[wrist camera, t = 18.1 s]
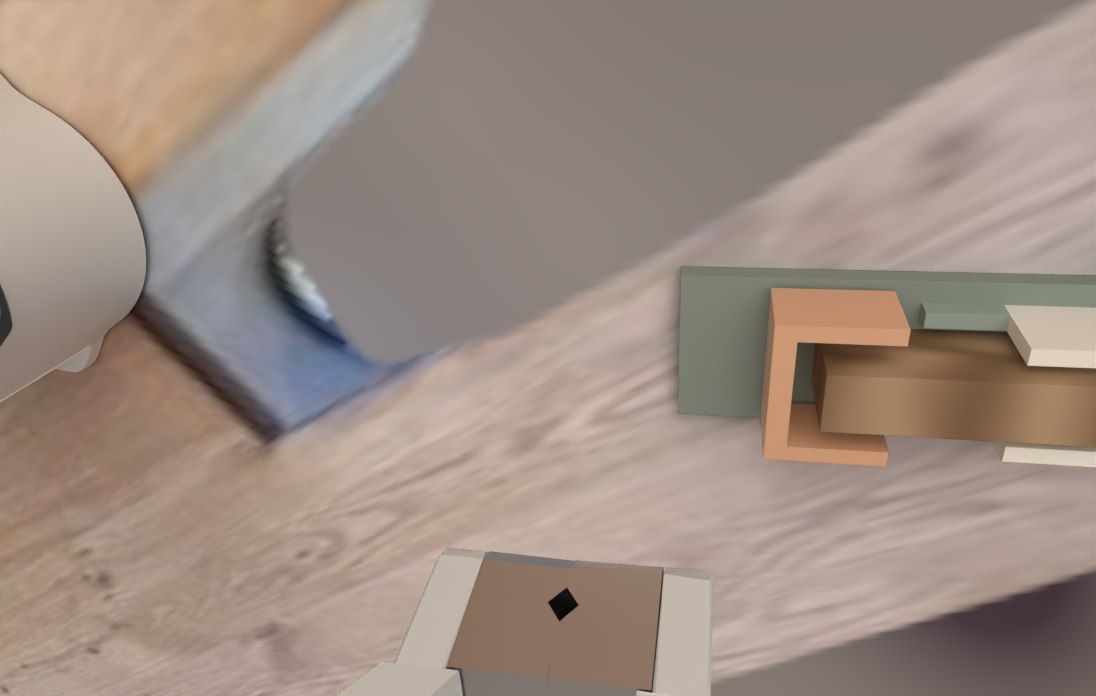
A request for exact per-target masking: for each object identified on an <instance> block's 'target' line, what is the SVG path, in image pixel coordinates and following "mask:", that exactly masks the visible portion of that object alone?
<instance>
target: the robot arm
mask: <svg viewBox="0 0 1096 696" xmlns="http://www.w3.org/2000/svg"><path fill="white" fill-rule="evenodd" d="M145 274H146V249H145V242H144V237H143V233H142V229H141V226H140V222H139V219H138V217H137V214H136V211H135V209H134V207H133V204H132V202H131V200H130V198H129V196H128V194H127V192H126V191H125V189H124V187H123V185H122V184H121V182H120V181H119V179H118V177H117V176H116V174H115V173H114V172H113V170H112V169H111V167H110V166H109V165H108V164H107V162H106V161H105V160H104V158H103V157H102V156H101V155H100V154H99V153H98V152H97V150H96V149H95V148H94V147H93V146H92V145H91V144H90V143H89V142H88V141H87V140H86V139H85V138H84V137H82V136H81V135H80V134H79V133H78V132H77V131H76V130H75V129H73V128H72V127H71V126H70V125H68V124H67V123H66V122H64V121H63V120H62V119H60V118H59V117H57V116H56V115H54V114H53V113H51V112H50V111H48V110H46V109H45V108H43V107H41V106H40V105H38V104H36V103H35V102H33V101H31V100H30V99H28V98H27V97H25V96H24V95H22V94H21V93H19V92H18V91H17V90H15V89H14V88H13V87H12V86H11V85H10V84H9V83H8V81H7V80H6V79H5V78H4V77H3V76H2V75H1V74H0V403H1V402H2V401H4V400H6V399H7V398H9V397H10V396H12V395H14V394H15V393H17V392H19V391H20V390H22V389H24V388H25V387H27V386H28V385H30V384H32V383H33V382H35V381H36V380H38V379H40V378H41V377H43V376H44V375H46V374H48V373H49V372H51V371H52V370H54V369H58V370H62V371H67V372H80V371H82V370H83V369H85V368H87V367H88V366H90V365H92V364H93V363H94V362H95V361H96V359H97V357H98V355H99V352H100V349H101V346H102V342H103V339H104V335H105V334H106V333H107V332H108V331H109V330H110V329H111V328H112V327H113V326H114V325H115V324H117V323H118V322H119V321H120V320H122V319H123V318H124V317H125V316H126V315H127V314H128V313H129V312H130V311H131V309H132V308H133V307H134V305H135V304H136V302H137V300H138V298H139V296H140V294H141V291H142V288H143V284H144V280H145ZM712 597H713V577H712V574H711V572H710V571H706V570H693V569H680V568H667V567H665V571H664V567H652V566H639V565H626V564H614V563H601V562H588V561H570V560H561V559H552V558H543V557H534V556H526V555H517V554H508V553H499V552H481V551H473V550H465V549H456V548H448V547H447V548H446V549H445V550H444V551H443V552H442V553H441V555H440V556H439V557H438V558H437V561H436V563H435V566H434V568H433V570H432V573H431V575H430V577H429V580H428V582H427V585H426V587H425V589H424V592H423V594H422V597H421V599H420V601H419V604H418V606H417V609H416V611H415V613H414V616H413V618H412V621H411V623H410V625H409V628H408V630H407V633H406V635H405V637H404V640H403V642H402V644H401V647H400V649H399V652H398V654H397V656H396V659H395V661H394V663H393V662H382V661H381V662H379V663H378V664H377V665H376V666H374V667H373V668H372V669H370V670H369V671H368V672H366V673H365V674H364V675H362V676H361V677H360V678H358V679H357V680H356V681H354V682H353V683H352V684H350V685H349V686H348V687H347V688H345V689H344V690H343V691H341V692H340V693H339V694H337V695H336V696H711V650H712Z"/></svg>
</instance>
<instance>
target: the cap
mask: <svg viewBox="0 0 1096 696" xmlns="http://www.w3.org/2000/svg"><path fill="white" fill-rule="evenodd" d="M910 331H911V329H910V327H909V324H908V322H907V319H906V317H905V314H904V312H903V309H902V307H901V304H900V301H899V299H898V296H897V294H896V291H875V290H837V289H799V288H771V295H770V307H769V319H768V331H767V343H766V355H765V367H764V380H763V392H762V404H761V429H762V445H763V459H771V460H787V461H803V462H819V463H835V464H850V465H866V466H882V467H886V464H887V459H888V453H889V452H888V449H887V445H886V442H885V438H884V435H872V434H854V433H837V432H820V429H819V423H818V417H817V411H816V405H815V404H795V403H791V400H792V390H793V380H794V371H795V361H796V352H797V342H803V343H830V344H856V345H883V346H908V342H909V336H910Z"/></svg>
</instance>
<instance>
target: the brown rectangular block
mask: <svg viewBox="0 0 1096 696" xmlns="http://www.w3.org/2000/svg"><path fill="white" fill-rule="evenodd" d="M811 380H812V386H813V392H814V398H815V404H816V411H817V417H818V423H819V429H820V432H837V433H854V434H872V435H890V436H908V437H925V438H943V439H961V440H979V441H996V442H1014V443H1032V444H1050V445H1067V446H1085V447H1096V368H1073V367H1049V366H1027V364H1026V363H1025V361H1024V359H1023V358H1022V356H1021V354H1020V353H1019V351H1018V349H1017V347H1016V346H1015V344H1014V342H1013V341H1012V339H1011V337H1010V336H1009V334H1008V332H991V331H961V330H931V329H911V331H910V336H909V342H908V346H883V345H856V344H830V343H815V351H814V360H813V368H812V377H811Z"/></svg>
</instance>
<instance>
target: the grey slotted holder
mask: <svg viewBox="0 0 1096 696" xmlns="http://www.w3.org/2000/svg"><path fill="white" fill-rule="evenodd" d="M771 288H799V289H837V290H875V291H896V294H897V296H898V299H899V301H900V304H901V307H902V309H903V312H904V314H905V317H906V319H907V322H908V324H909V327H910V329H931V330H961V331H991V332H1008V334H1009V336H1010V337H1011V339H1012V341H1013V342H1014V344H1015V346H1016V347H1017V349H1018V351H1019V353H1020V354H1021V356H1022V358H1023V359H1024V361H1025V363H1026V364H1027V366H1049V367H1073V368H1096V276H1091V275H1046V274H1001V273H955V272H910V271H865V270H819V269H774V268H728V267H683V266H682V270H681V292H680V336H679V379H678V414H696V415H715V416H733V417H752V418H761V404H762V392H763V380H764V367H765V355H766V343H767V331H768V319H769V307H770V295H771ZM814 351H815V343H803V342H797V352H796V361H795V371H794V380H793V390H792V400H791V403H795V404H815V398H814V392H813V386H812V380H811V377H812V368H813V360H814ZM815 405H816V404H815ZM993 443H994V445H995V447H996V450H997V452H998V454H999V456H1000V458H1001V461H1003V462H1019V463H1036V464H1052V465H1069V466H1085V467H1096V447H1085V446H1067V445H1050V444H1032V443H1014V442H996V441H993Z"/></svg>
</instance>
